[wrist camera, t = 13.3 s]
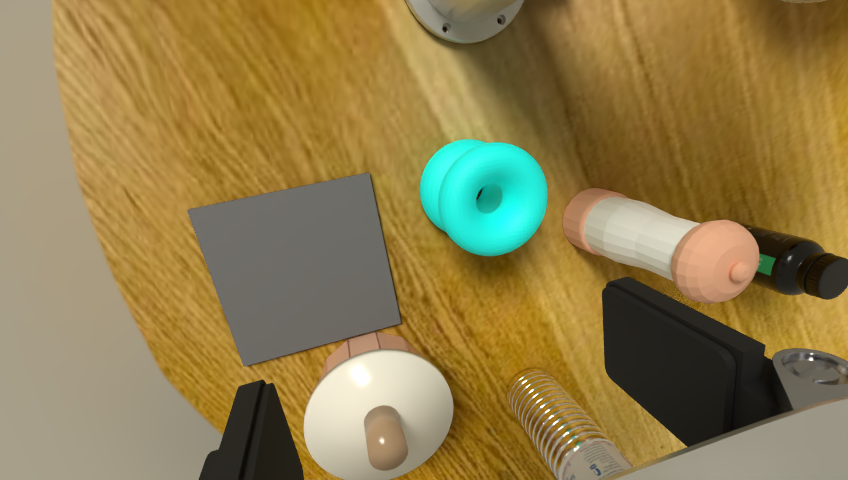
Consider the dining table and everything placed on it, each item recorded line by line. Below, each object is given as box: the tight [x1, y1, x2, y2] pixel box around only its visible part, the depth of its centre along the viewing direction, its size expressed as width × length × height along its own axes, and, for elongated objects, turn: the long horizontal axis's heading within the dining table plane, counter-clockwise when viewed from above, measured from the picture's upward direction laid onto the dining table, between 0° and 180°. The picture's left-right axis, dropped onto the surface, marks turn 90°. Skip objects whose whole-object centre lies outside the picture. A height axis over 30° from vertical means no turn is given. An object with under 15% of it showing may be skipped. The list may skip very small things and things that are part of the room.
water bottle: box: [507, 368, 633, 480], centre depth 42 cm, size 7×7×25 cm
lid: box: [304, 349, 453, 480], centre depth 39 cm, size 15×15×5 cm
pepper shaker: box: [563, 188, 759, 304], centre depth 40 cm, size 7×7×19 cm
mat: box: [187, 172, 401, 366], centre depth 42 cm, size 17×17×1 cm
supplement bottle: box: [740, 224, 848, 300], centre depth 49 cm, size 7×7×12 cm
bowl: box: [318, 332, 420, 383], centre depth 45 cm, size 12×12×6 cm
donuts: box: [420, 139, 548, 256], centre depth 39 cm, size 10×10×10 cm
